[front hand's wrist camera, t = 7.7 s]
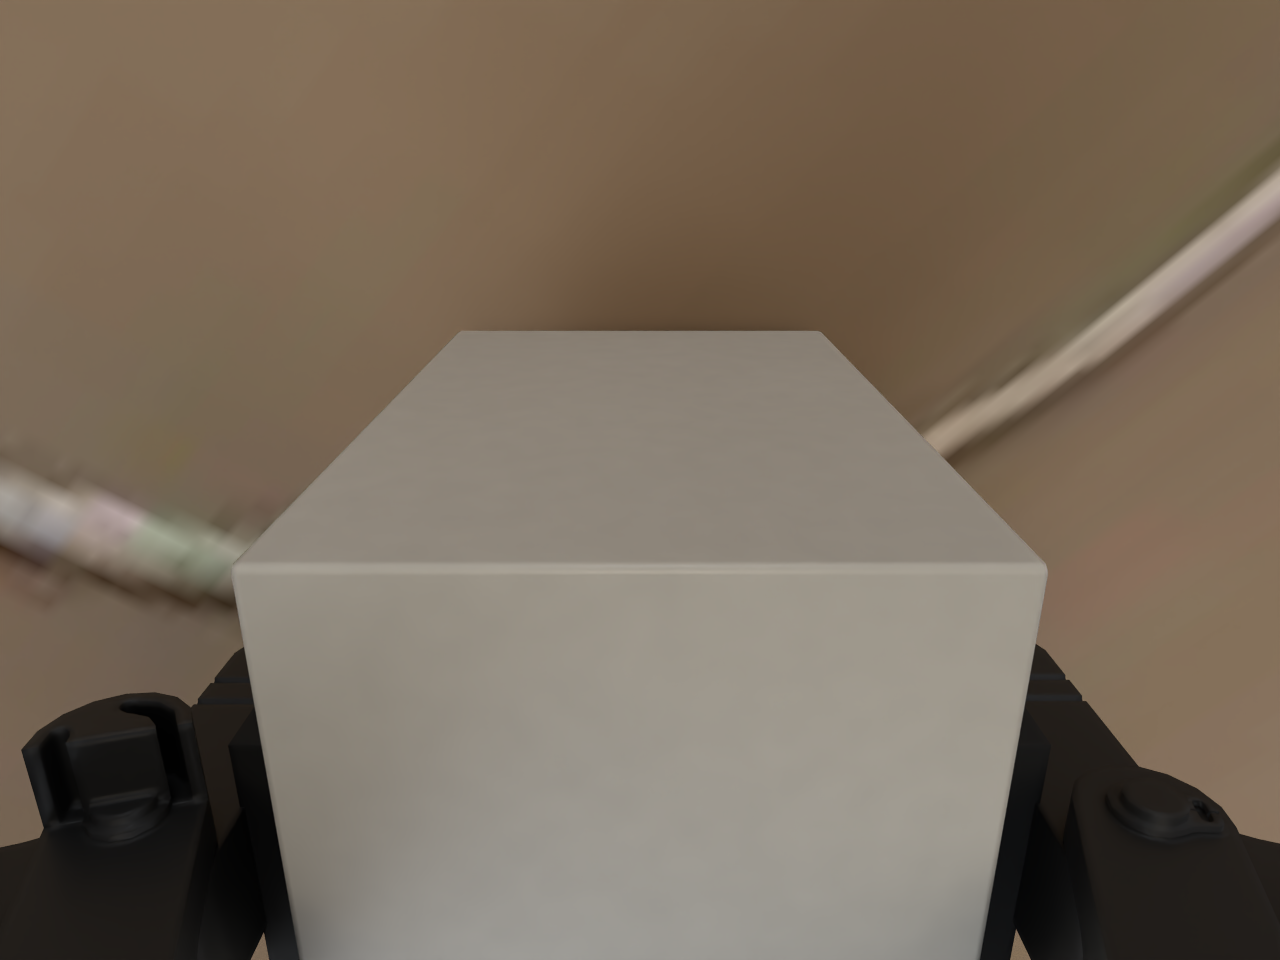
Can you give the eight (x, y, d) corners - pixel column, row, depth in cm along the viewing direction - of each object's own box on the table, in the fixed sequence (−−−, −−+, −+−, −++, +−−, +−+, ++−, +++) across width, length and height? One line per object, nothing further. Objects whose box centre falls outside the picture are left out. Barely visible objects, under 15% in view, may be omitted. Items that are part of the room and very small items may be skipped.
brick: (821, 330, 14) (1053, 566, 6) (794, 711, 17) (935, 1226, 9) (457, 330, 14) (225, 566, 6) (485, 711, 17) (343, 1226, 9)
